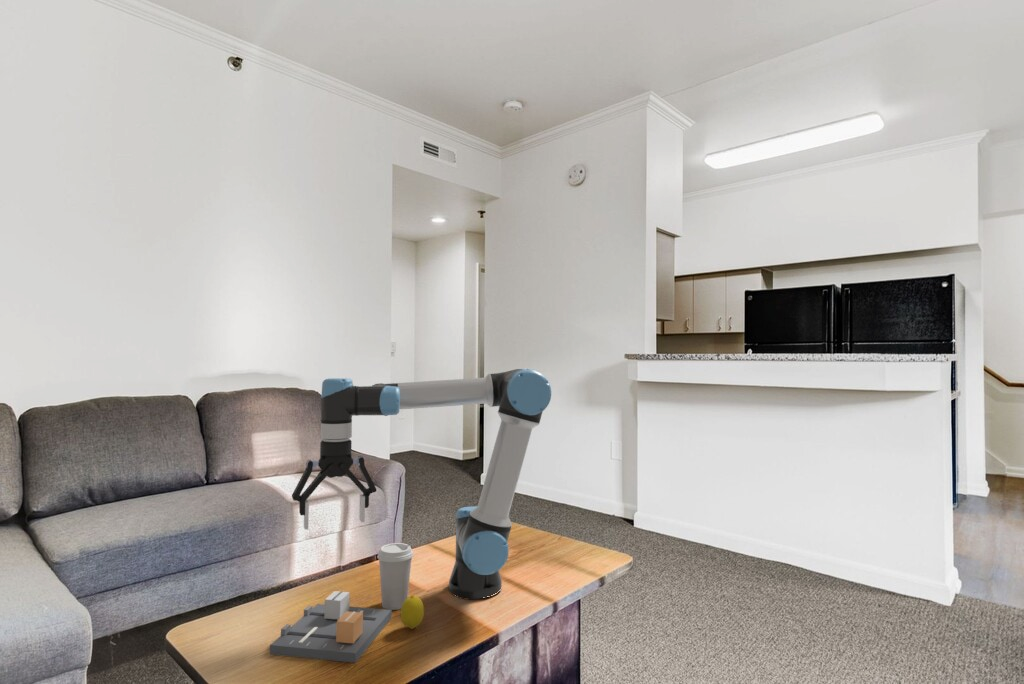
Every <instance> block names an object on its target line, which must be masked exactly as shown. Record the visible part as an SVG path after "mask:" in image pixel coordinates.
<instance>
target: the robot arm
mask: <svg viewBox="0 0 1024 684" xmlns="http://www.w3.org/2000/svg"><path fill="white" fill-rule="evenodd" d="M551 387H552V386H551V383H550V382H549V380H548V379H547V378H546V376H544V374H542V373H540V372H539V371H537V370H534V369H529V368H516V369H512V370H507V371H502V372H496V373H488V374H487V375H486V376H485V377H471V378H459V379H443V380H442V379H441V380H440V379H439V380H425V381H409V382H396V383H394V382H392V383H380V382H379V383H374V384H372V385H368V386H367V385H366V386H365V385H363V386H362V385H361V386H358V385H354V382H353V379H351V378H343V377H342V378H338V377H337V378H325V379H324V380H323V381H322V384H321V395H320V439H321V441H320V445H319V447H320V448H319V450H320V451H319V452H320V453H319V459H318V460H311V459H307V460H306V464H305V469H304V471H303V472H302V475H301V476H300V480H299V481H298V482H297V485H296V486H295V488H294V491H292V494H291V499H292V500H293V501H296V502H299V504H298V505H299V508H298V509H299V514H300V516H303V528H304V530H305V531H306V530H309V514H310V513H309V511H310V510H309V509H310V502H309V500H308V498H310V496H311V495H312V493H314V491H315V490H317V488H318V487H319V485H320V484H321V483H322V482H323V481H324V480H325V479H326V478H329V479H330V478H335V477H338V478H342V477H343V478H344V476H347V477H348V478H349V480H351V481H352V483H353V484H354V485H355V487H357V488H358V489H359V490H360V491H361V492H362V493H360V494H359V515H358V517H359V518H358V519H359V521H360V523H365V521H366V509H367V508H369V507H370V495H371V494H372V493H376V492H377V488H376V486H375V484H374V482H373V480H372V478H371V476H370V473H369V472H368V469H367V467H366V465H365V459H364V457H362V455H361V456H360V455H359V456H358V457H352V440H351V438H352V437H353V436H352V429H353V427H352V426H353V424H352V423H353V416H358V417H359V416H385V417H387V416H397V415H398V414H399V413H400V410H411V409H427V408H440V407H456V406H469V405H485V404H487V406H489V407H490V408H491V407H493V408H494V407H498V409H497V410H498V411H497V413H498V416H499V418H500V420H501V421H500V423H499V424H500V425H499V427H498V432H497V434H496V435H497V436H496V439H495V442H494V446H493V450H492V454H491V457H490V460H489V463H488V468H487V472H486V475H485V479H484V482H483V486H482V489H481V493H480V496H479V500H478V503H477V505H476V506H466V507H465V506H464V507H460V508H459V509H457V510H456V517H455V521H456V525H455V561H454V566H453V568H452V571H451V574H450V578H449V582H448V591H449V590H450V591H449V593H450V592H451V593H452V595H453V594H454V595H453V596H455V595H456V596H455V597H457V596H458V598H460V597H461V598H460V599H464V598H468V599H467V600H479V599H478V598H483V597H487V596H491V595H493V594H495V593H497V592H498V591H499V590H500V589H501V587H502V586H503V585H502V584H503V583H502V581H503V580H502V577H501V574H500V570H501V569H502V568H503V567H504V566H505V564H506V563H507V561H508V558H509V554H510V553H509V552H510V549H509V544H508V541H509V538H510V533H511V529H512V526H513V523H512V521H511V519H510V517H509V515H510V511H511V507H512V504H513V500H514V497H515V493H516V490H517V486H518V481H519V478H520V475H521V470H522V467H523V463H524V460H525V456H526V453H527V449H528V445H529V442H530V439H531V434H532V430H533V429H534V428H536V426H539V425H540V422H541V418H542V415H543V412H544V411H545V410H546V408H547V407H549V404H550V402H551V399H552V388H551ZM354 464H355V466H357V467H358V469H359V471H360V473H361V475H362V476H363V478H364V481H365V483H366V484H367V486H368V487H367V488H366V487H365V486H364V485H363V483H362V482H361V481H360V480H359V479H358V478H357V477H356V475H355V474H354V473H353V472H352V471H351V470H350V469H351V467H352V466H353V465H354ZM317 467H319V469H320V471H319V473H317V475H316V477H315V478H314V479H313V480H312V481H311V482H310V484H309V485H308V486H307V487H306V488H305V486H306V484H307V482H308V480H309V478H310V476H311V474H312V472H313V471H314V470H316V468H317ZM304 488H305V490H304ZM303 490H304V491H303ZM301 493H302V494H301ZM502 588H503V587H502ZM501 590H502V589H501ZM451 593H450V594H451Z"/></svg>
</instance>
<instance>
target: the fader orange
mask: <svg viewBox="0 0 1024 684" xmlns="http://www.w3.org/2000/svg"><path fill="white" fill-rule="evenodd" d="M362 633H363V613H360V612H349V611H347V612H346V613H345V614H344V615H343V616H342V617H341V618H340V619H339V620H338V621H337V631H336V642H342V643H352V644H353V643H354V642H355V641H356V640H357V639H358V637H359V636H360V635H361V634H362Z"/></svg>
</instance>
